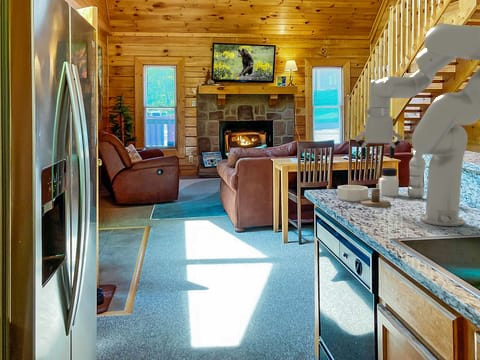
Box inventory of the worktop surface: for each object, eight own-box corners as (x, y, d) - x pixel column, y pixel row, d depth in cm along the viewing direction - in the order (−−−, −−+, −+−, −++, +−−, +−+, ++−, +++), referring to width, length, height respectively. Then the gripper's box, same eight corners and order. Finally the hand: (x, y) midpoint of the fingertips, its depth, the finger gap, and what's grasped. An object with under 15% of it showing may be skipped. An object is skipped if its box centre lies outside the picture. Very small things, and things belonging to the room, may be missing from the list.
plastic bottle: (420, 196, 172) (423, 150, 169) (426, 199, 165) (429, 151, 162) (405, 196, 173) (407, 150, 170) (410, 199, 166) (412, 151, 163)
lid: (392, 207, 150) (393, 191, 149) (361, 206, 152) (362, 191, 151) (388, 201, 160) (388, 187, 160) (359, 201, 163) (359, 186, 162)
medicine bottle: (398, 196, 173) (399, 169, 171) (380, 196, 174) (382, 168, 172) (395, 193, 180) (396, 167, 178) (378, 193, 181) (379, 166, 179)
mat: (390, 208, 150) (390, 207, 150) (362, 207, 153) (362, 206, 152) (386, 202, 160) (387, 202, 160) (360, 202, 162) (360, 201, 162)
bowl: (368, 202, 162) (369, 190, 161) (337, 201, 164) (338, 189, 163) (365, 196, 173) (366, 185, 172) (337, 196, 176) (337, 184, 175)
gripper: (355, 113, 150) (354, 158, 152) (405, 112, 146) (403, 159, 148) (354, 113, 157) (353, 157, 159) (401, 112, 153) (399, 157, 156)
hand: (377, 158), depth 154 cm, fingers open, 9 cm apart
